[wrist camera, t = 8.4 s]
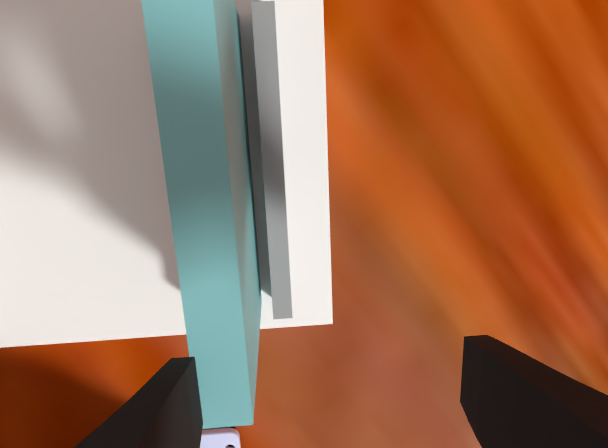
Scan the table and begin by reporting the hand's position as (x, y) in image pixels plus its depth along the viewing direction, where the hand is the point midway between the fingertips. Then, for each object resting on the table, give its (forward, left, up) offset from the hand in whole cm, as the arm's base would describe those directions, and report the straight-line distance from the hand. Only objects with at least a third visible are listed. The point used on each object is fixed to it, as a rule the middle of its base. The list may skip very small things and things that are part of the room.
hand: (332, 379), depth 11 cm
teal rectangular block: (+4, +3, -8) cm, 10 cm away
